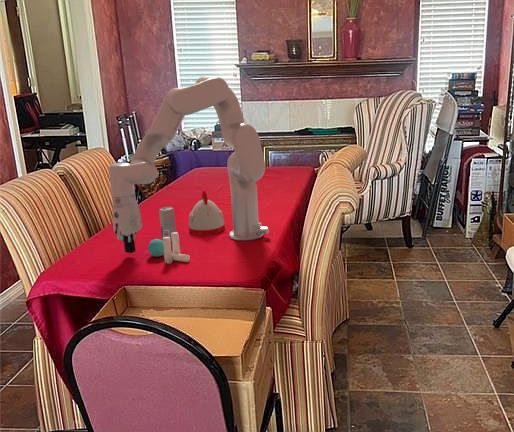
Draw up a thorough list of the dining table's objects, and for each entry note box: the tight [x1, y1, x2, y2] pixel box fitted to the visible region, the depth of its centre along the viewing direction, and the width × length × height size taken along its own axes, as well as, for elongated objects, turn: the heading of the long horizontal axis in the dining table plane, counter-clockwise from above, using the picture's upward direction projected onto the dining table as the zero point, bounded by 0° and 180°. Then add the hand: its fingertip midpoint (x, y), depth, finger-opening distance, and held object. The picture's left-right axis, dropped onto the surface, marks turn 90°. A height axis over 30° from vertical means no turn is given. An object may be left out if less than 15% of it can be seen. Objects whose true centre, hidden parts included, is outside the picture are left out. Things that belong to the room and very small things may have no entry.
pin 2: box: [171, 231, 181, 254], centre depth 187 cm, size 2×2×8 cm
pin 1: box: [162, 237, 174, 265], centre depth 182 cm, size 2×2×8 cm
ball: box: [147, 238, 164, 258], centre depth 189 cm, size 6×6×6 cm
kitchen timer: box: [188, 190, 226, 235], centre depth 216 cm, size 14×14×15 cm
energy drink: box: [158, 206, 177, 242], centre depth 205 cm, size 5×5×12 cm
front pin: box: [163, 252, 191, 263], centre depth 185 cm, size 2×2×8 cm
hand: (130, 251), depth 191 cm, fingers closed
